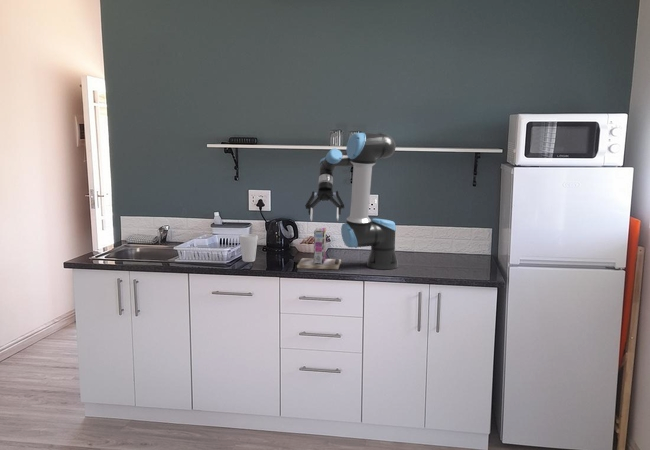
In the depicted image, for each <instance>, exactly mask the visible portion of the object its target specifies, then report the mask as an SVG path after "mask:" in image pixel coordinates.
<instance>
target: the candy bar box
mask: <svg viewBox="0 0 650 450" xmlns="http://www.w3.org/2000/svg"><path fill="white" fill-rule="evenodd" d="M313 232H314V233H313V234H314V235H313V259H314V264H323V263H324V261H325V259H326V248H327V247H326V246H327V245H326V244H327V240H326V239H327V228H326V227H316V228H315V230H314V231H313Z"/></svg>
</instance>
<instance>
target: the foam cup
mask: <svg viewBox="0 0 650 450" xmlns="http://www.w3.org/2000/svg"><path fill="white" fill-rule="evenodd" d="M238 240H239V245H240V251H241V252H240V253H241V259H242V262H245V263H251V262H255V261H256V255H257V246H258V240H259V235H258V234H256V233H241V234H239V235H238Z"/></svg>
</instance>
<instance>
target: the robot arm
mask: <svg viewBox="0 0 650 450" xmlns="http://www.w3.org/2000/svg"><path fill="white" fill-rule="evenodd" d="M396 147H397V146H396V142H395V140H394V138H393V137H392V136H391V135H389V134H387V133H383V132H356V133H353V134H351V135H350V137H349V138H348V140H347V143H346V149H345V150H346V152H343V151H341V149H337V148H332V149H330V150H329V151H327V153H326V155H325V157H323V158H321V159H320V160H319V163H318V168H319V169H318V190H317V192H315V191H312V193H311V195H310V197H309V199H308V200H307V202H306V204H305V205H304V206H305V209H306V210H308V215H309V216H310V218H309V220H310V222H313V215H314V214H313V212H314V209H313V208H315V206H316V205H318V204H319V203H320V202H321V201H323V202H325V201H330V202H331V203H332V204H333V205H334V206H335V207H336V222H339V219H340V217H339V216H340V215H342V211H341V210H342V209H345V204H344V202H343V200H342V198H341V197H340V195H339V191H338V190H336V191H335V192H333V187H334V186H333V184H334V171H335V169H336V168H337V167H338V168H342V167H353V169H352V181H351V182H352V183H351V184H352V185H351V197H350V212H349V214H350V215H348V216H347V217H346V221H345V222H344V223H343V224H342V225H341V227H340V229H341V230H340V235H341V239H342V241H343V243H344V245H345V246H346V247H347V248H365V247H370V253H369V255H368V258H367V261H366V266H367V267H368V268H370V269H373V270H374V269H375V270H394V269H398V267H399V261H398V257H397V254H396V223H395V221H393V220H389V219H383V218H370V217H369V213H370V212H369V210H370V199H371V187H372V186H371V185H372V173H373V166H375V165H376V164H377V159H381V160H385V159H387V158H390V157H392V156H393V154H394V153H395V151H396ZM333 196H334V197H335V198H336V199H337V201H336V200H335V198H334V197H333Z"/></svg>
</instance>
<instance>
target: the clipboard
mask: <svg viewBox="0 0 650 450" xmlns="http://www.w3.org/2000/svg"><path fill="white" fill-rule="evenodd" d="M341 262H342V259H341V258H338V259H337V258H325V261H324V263H323V264H314V258H309V257H308V258H307V257H306V258H304V257H302V258H301V259H300V261H299V262H298V263H297V265H296V268H297V269H310V270H311V269H316V270H321V269H322V270H339V269H340V265H341V264H342V263H341Z"/></svg>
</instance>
